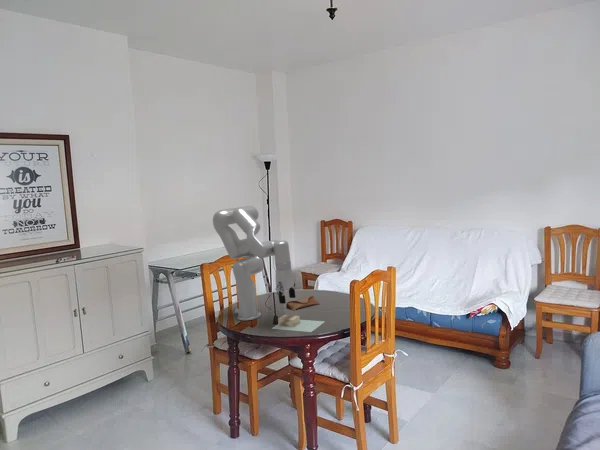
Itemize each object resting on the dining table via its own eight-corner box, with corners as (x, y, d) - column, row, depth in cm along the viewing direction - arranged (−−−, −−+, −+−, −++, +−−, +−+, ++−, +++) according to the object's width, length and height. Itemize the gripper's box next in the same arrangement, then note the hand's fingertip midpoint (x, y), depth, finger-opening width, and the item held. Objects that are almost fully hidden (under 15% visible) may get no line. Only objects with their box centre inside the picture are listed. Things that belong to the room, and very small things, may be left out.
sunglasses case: (293, 311, 250) (289, 299, 252) (288, 315, 256) (284, 303, 258) (321, 303, 258) (317, 292, 261) (316, 307, 264) (312, 297, 267)
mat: (271, 329, 224) (271, 328, 224) (286, 319, 237) (286, 318, 237) (311, 332, 213) (311, 332, 213) (325, 322, 226) (325, 321, 226)
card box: (278, 325, 227) (277, 318, 227) (284, 321, 232) (283, 315, 232) (294, 327, 223) (293, 320, 222) (300, 322, 228) (299, 316, 228)
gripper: (285, 262, 234) (289, 295, 235) (267, 270, 219) (272, 305, 220) (298, 262, 230) (302, 295, 232) (280, 270, 215) (285, 305, 217)
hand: (287, 300), depth 226 cm, fingers open, 9 cm apart
